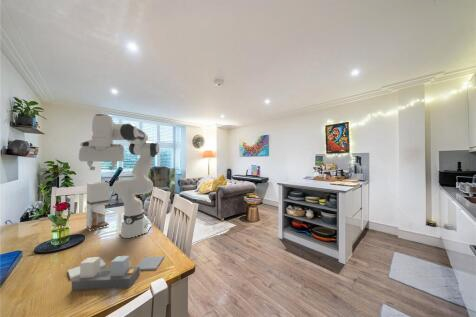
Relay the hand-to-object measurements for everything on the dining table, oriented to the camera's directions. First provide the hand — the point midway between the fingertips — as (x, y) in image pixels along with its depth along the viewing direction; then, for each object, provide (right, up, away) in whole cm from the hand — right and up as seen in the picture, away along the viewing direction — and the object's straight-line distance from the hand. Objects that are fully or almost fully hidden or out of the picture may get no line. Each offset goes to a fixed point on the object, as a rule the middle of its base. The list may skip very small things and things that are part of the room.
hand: (102, 170), depth 90 cm
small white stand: (-38, -48, +43) cm, 75 cm away
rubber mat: (+28, -46, -5) cm, 55 cm away
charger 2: (+22, -43, -18) cm, 51 cm away
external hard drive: (0, -47, -9) cm, 48 cm away
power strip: (+17, -46, -18) cm, 52 cm away
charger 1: (+10, -45, -19) cm, 49 cm away
